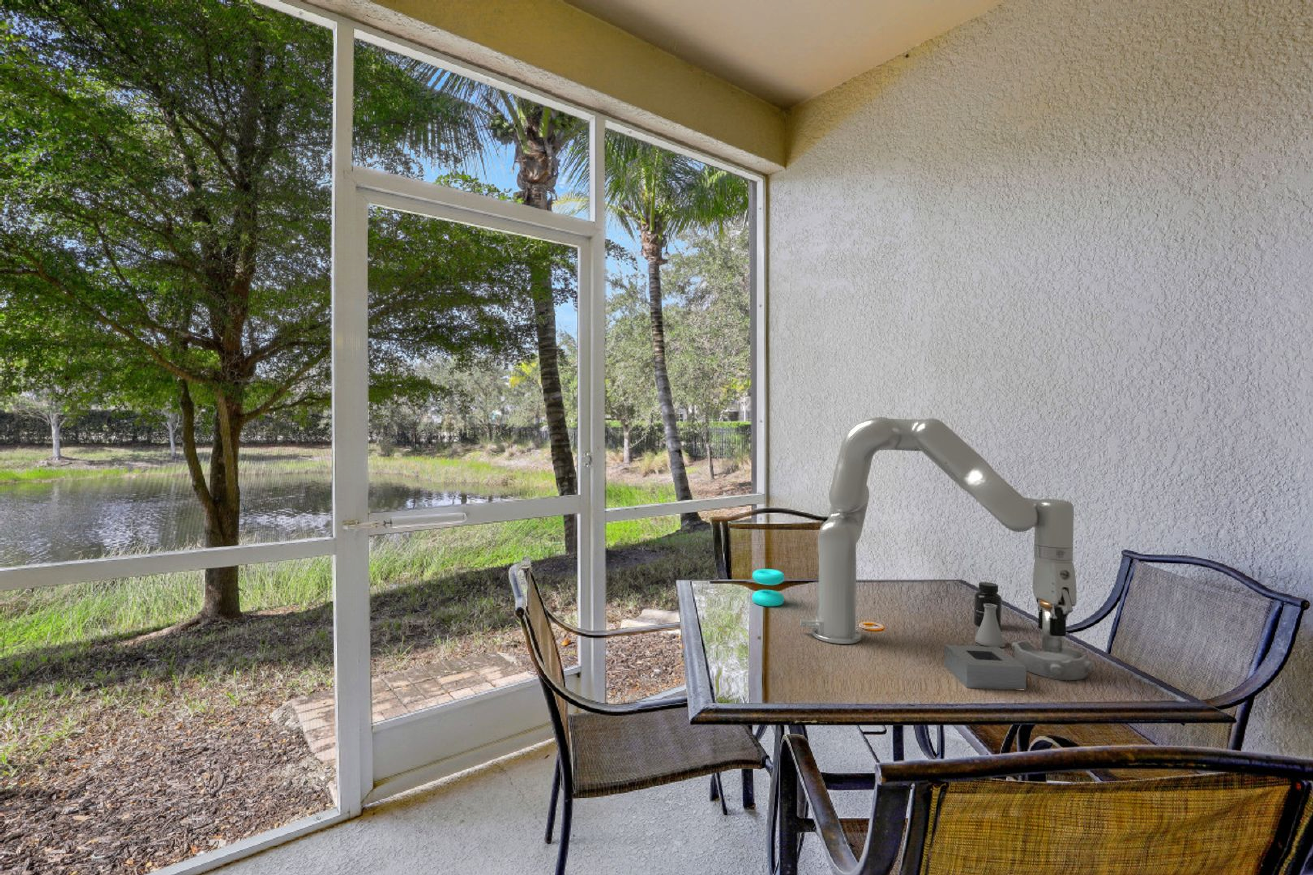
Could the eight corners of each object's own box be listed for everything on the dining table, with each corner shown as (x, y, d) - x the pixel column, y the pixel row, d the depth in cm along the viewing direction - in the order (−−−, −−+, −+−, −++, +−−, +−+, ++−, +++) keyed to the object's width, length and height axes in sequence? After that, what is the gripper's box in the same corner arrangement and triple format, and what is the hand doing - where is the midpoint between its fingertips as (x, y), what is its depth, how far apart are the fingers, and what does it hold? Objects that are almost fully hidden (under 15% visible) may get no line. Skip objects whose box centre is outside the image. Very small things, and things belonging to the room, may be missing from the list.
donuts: (788, 575, 187) (757, 575, 186) (788, 607, 188) (756, 607, 186) (778, 567, 197) (748, 568, 196) (778, 598, 197) (748, 598, 196)
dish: (1003, 658, 147) (1003, 638, 147) (1061, 660, 147) (1062, 639, 147) (1038, 683, 133) (1039, 660, 133) (1103, 685, 133) (1104, 662, 132)
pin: (1071, 654, 137) (1072, 605, 137) (1046, 653, 138) (1047, 604, 138) (1057, 646, 142) (1058, 598, 142) (1033, 645, 143) (1034, 597, 143)
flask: (1010, 649, 153) (1010, 609, 153) (979, 647, 155) (979, 607, 155) (999, 639, 160) (1000, 602, 160) (970, 637, 162) (970, 600, 162)
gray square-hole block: (966, 687, 129) (967, 664, 129) (944, 666, 141) (945, 644, 141) (1025, 690, 128) (1026, 667, 128) (998, 668, 140) (999, 647, 140)
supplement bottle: (975, 627, 170) (975, 585, 170) (972, 621, 176) (973, 579, 176) (1002, 631, 168) (1003, 587, 167) (999, 624, 174) (1000, 582, 174)
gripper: (1093, 561, 131) (1091, 645, 131) (1049, 546, 148) (1048, 621, 148) (1056, 560, 132) (1055, 644, 132) (1017, 546, 149) (1016, 620, 149)
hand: (1051, 631), depth 140 cm, fingers closed on pin, 3 cm apart
